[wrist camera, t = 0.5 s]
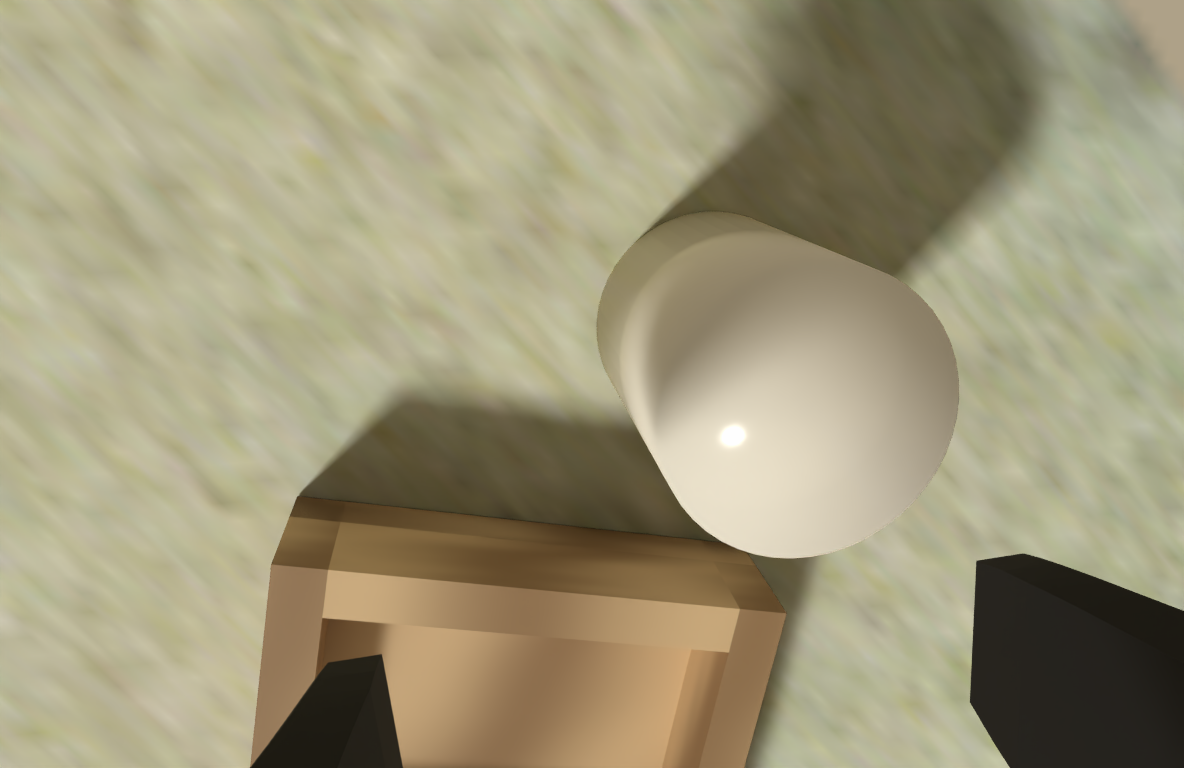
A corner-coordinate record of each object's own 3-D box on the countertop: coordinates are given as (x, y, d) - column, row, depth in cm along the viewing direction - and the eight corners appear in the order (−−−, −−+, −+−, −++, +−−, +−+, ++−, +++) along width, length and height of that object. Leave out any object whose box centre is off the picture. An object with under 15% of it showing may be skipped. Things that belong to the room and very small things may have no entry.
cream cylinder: (839, 232, 19) (998, 287, 14) (784, 442, 21) (909, 572, 15) (620, 192, 19) (695, 234, 13) (577, 414, 20) (628, 541, 14)
